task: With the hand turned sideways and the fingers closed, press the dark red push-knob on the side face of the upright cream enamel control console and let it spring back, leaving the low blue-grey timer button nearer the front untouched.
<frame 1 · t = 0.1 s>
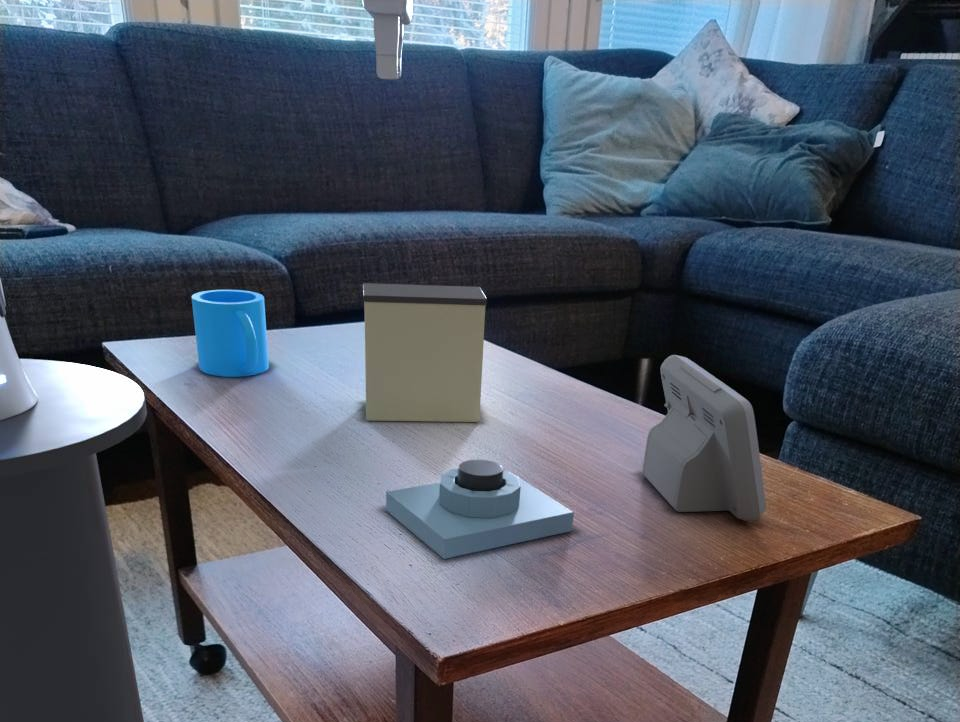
hand: (389, 79, 83), 31 cm above the table, tool pointing down, fingers open, 8 cm apart
console: (421, 412, 98), on the table
console knob: (420, 339, 97), point 7 cm above the table, slide at 0.1 cm
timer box: (477, 520, 75), on the table
digital clock: (699, 493, 83), on the table
mug: (239, 373, 108), on the table
timer button: (480, 476, 73), point 4 cm above the table, slide at 0.1 cm
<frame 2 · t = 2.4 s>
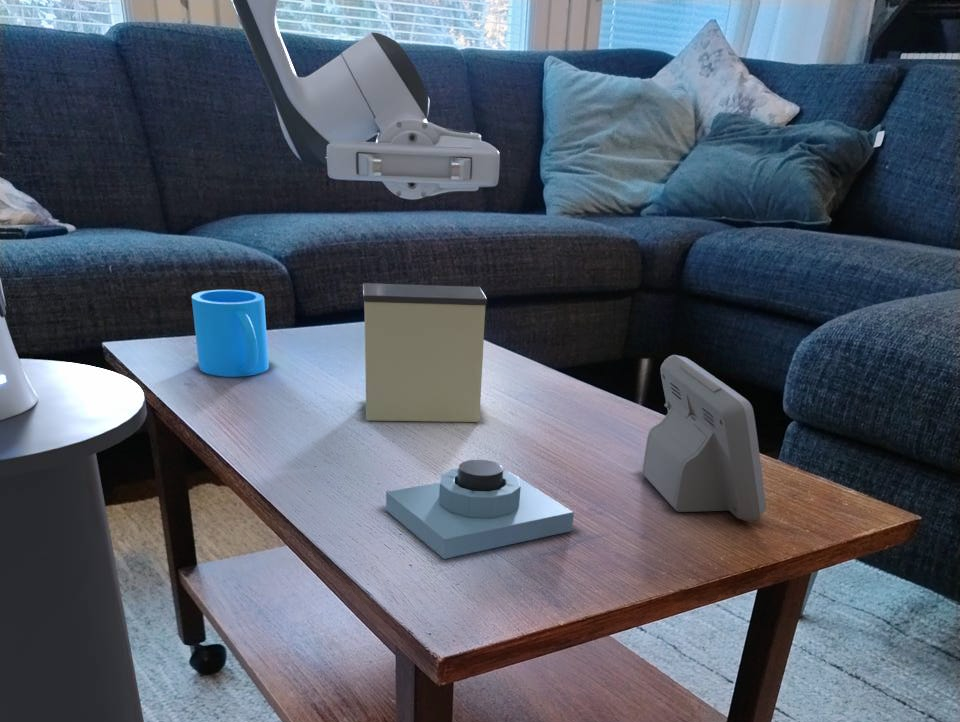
hand: (416, 169, 101), 22 cm above the table, tool horizontal, fingers open, 8 cm apart
nothing on the table moved.
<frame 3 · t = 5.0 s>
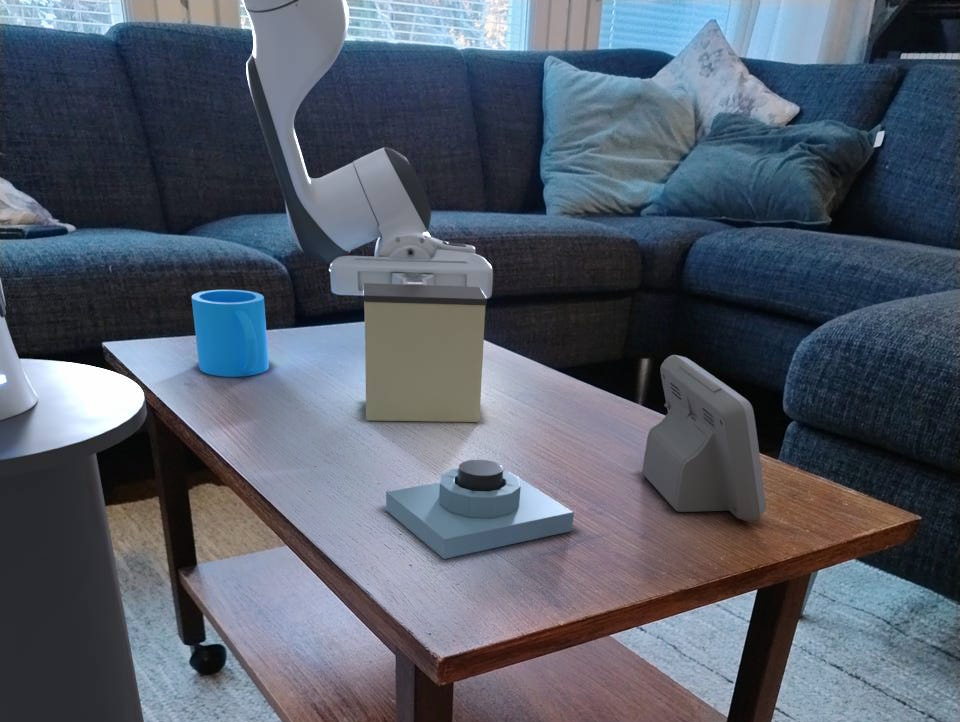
hand: (414, 290, 107), 9 cm above the table, tool horizontal, fingers closed
nothing on the table moved.
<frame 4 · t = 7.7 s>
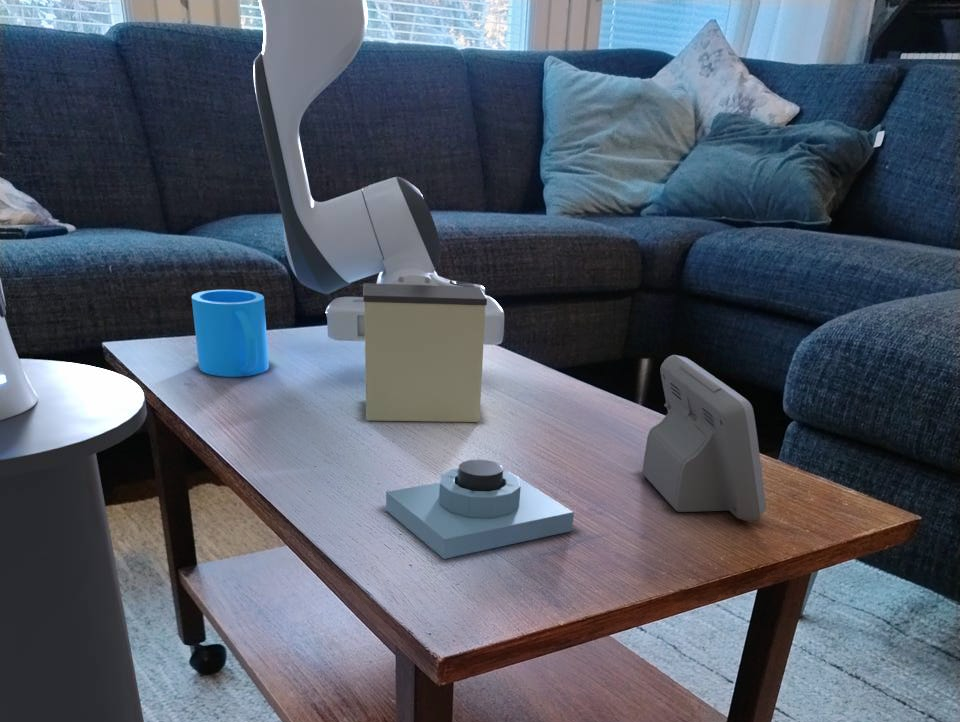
hand: (419, 337, 98), 7 cm above the table, tool horizontal, fingers closed, pressing on console knob
console knob: (421, 340, 97), point 7 cm above the table, slide at -0.4 cm, touching gripper
everything else where it was.
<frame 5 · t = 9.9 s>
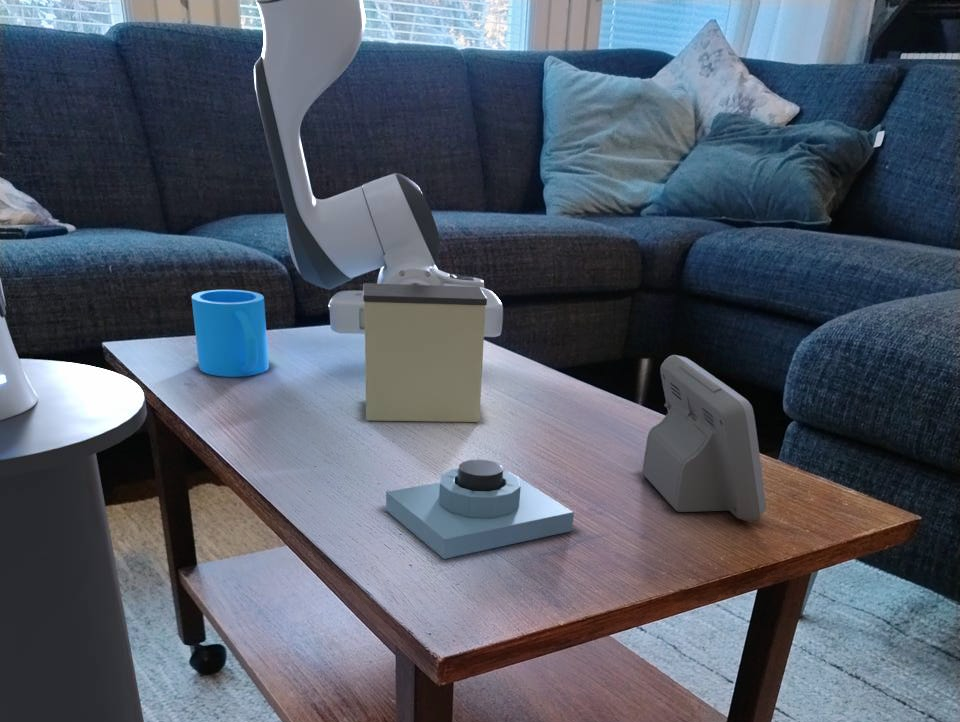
hand: (419, 329, 100), 7 cm above the table, tool horizontal, fingers closed
console knob: (420, 339, 97), point 7 cm above the table, slide at 0.1 cm
everything else where it was.
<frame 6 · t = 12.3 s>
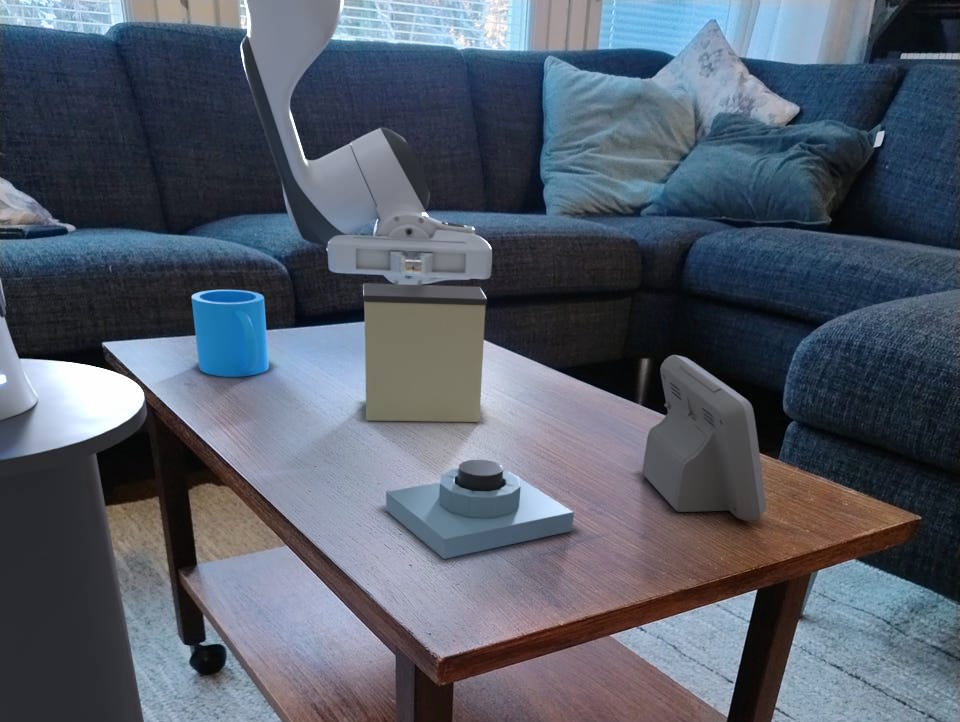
hand: (413, 267, 106), 12 cm above the table, tool horizontal, fingers closed
nothing on the table moved.
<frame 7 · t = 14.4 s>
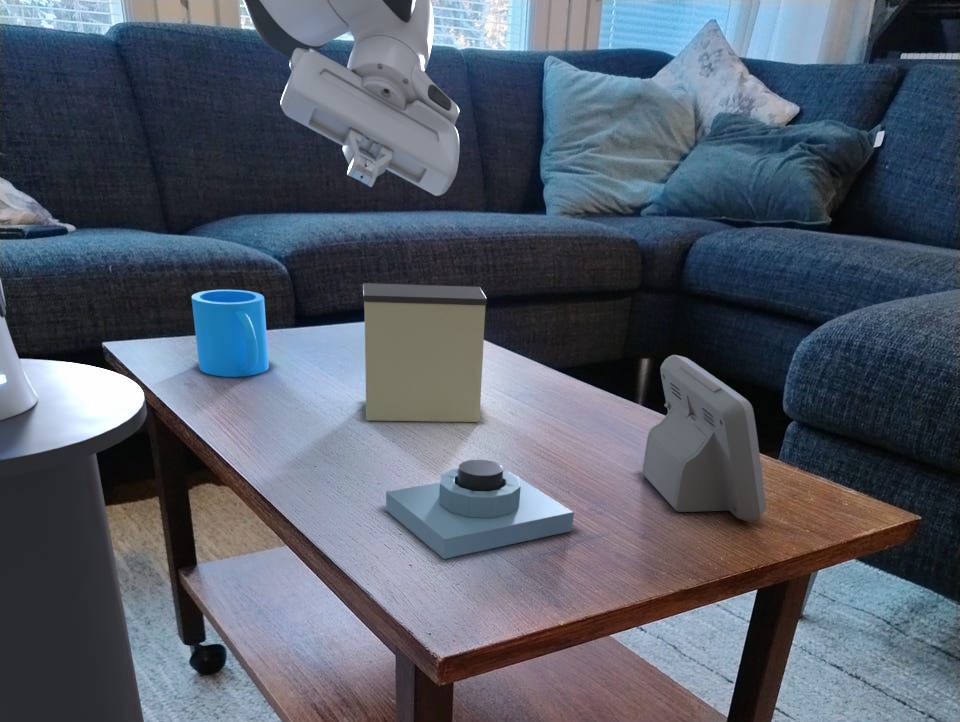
hand: (361, 177, 98), 21 cm above the table, tool tilted 55°, fingers closed
nothing on the table moved.
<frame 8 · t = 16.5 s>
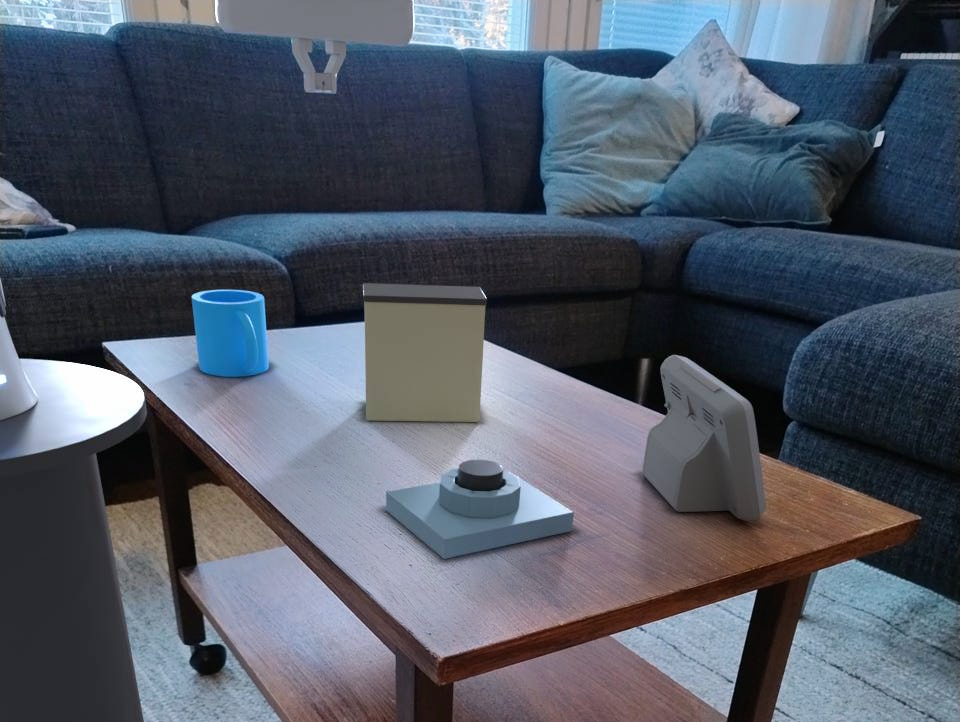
hand: (320, 93, 94), 29 cm above the table, tool pointing down, fingers closed
nothing on the table moved.
at the end: console knob pushed in 1.2 cm at the most during the clip, back to where it started at the end; console knob slide at 0.1 cm; timer button slide at 0.1 cm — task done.
